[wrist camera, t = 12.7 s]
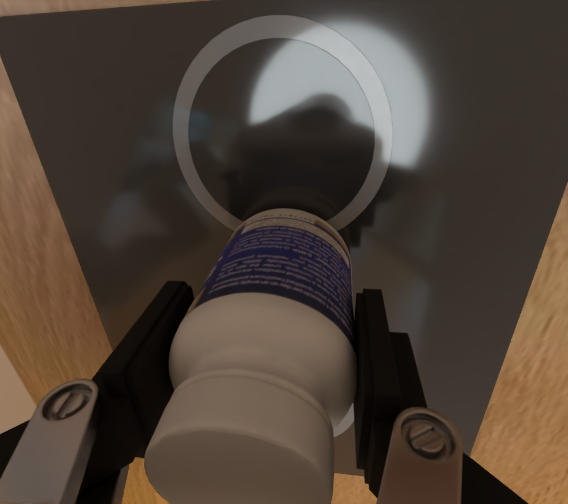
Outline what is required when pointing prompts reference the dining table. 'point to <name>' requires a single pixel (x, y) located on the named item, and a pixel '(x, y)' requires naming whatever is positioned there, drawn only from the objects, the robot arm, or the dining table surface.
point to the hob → (312, 155)
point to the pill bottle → (261, 370)
